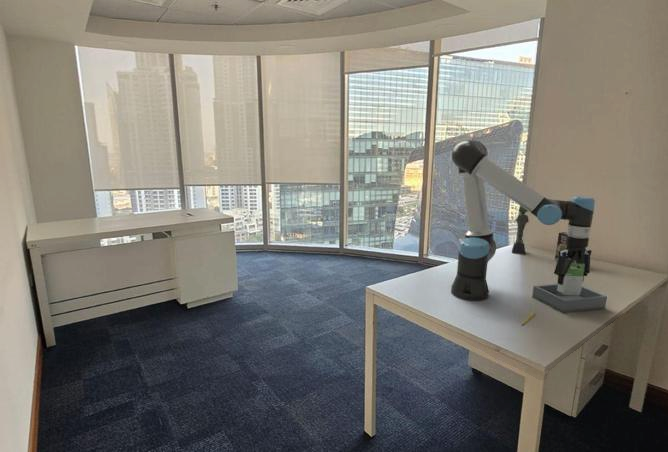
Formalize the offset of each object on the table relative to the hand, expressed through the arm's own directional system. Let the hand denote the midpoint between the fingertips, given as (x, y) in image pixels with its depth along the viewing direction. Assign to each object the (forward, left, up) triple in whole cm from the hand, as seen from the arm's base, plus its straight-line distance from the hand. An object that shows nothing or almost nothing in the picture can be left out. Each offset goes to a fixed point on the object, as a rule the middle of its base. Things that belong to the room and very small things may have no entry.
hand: (569, 290), depth 152 cm
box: (0, 0, -5) cm, 5 cm away
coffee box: (+45, +45, -5) cm, 64 cm away
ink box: (0, 0, -1) cm, 1 cm away
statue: (+34, +68, -5) cm, 76 cm away
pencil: (-27, -9, -6) cm, 29 cm away
